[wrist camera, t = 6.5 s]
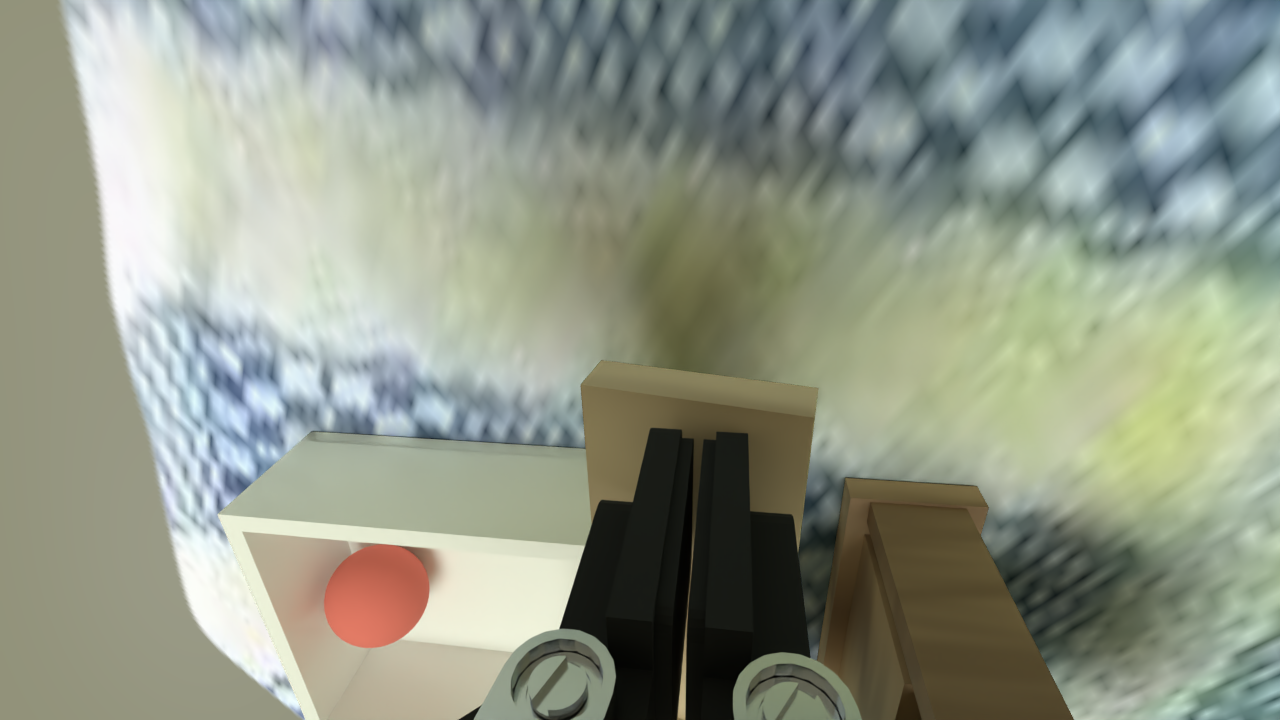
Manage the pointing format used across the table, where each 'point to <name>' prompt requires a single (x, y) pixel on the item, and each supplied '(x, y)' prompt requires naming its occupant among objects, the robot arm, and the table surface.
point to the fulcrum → (927, 611)
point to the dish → (438, 536)
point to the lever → (697, 435)
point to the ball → (376, 596)
